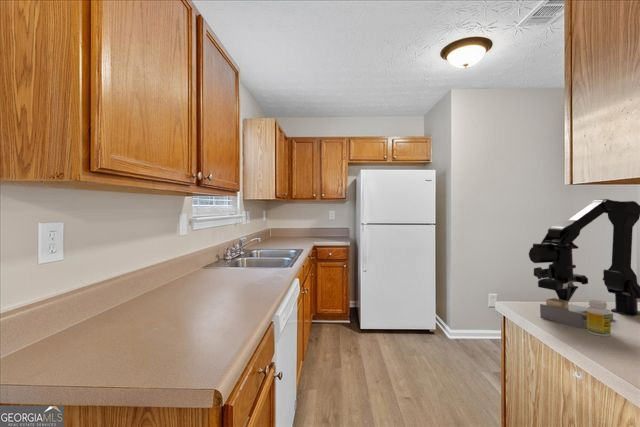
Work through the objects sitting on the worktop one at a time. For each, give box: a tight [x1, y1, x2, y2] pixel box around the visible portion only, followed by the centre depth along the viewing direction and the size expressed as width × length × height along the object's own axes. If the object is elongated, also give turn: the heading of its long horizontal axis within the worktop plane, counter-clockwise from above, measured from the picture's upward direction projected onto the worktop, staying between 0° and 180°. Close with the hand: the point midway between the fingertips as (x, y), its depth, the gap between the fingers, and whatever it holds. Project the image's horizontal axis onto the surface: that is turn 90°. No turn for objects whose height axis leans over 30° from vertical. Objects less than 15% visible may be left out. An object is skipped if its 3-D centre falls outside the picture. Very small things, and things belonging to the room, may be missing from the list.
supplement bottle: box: [586, 299, 612, 337], centre depth 95 cm, size 5×5×10 cm
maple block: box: [545, 297, 569, 310], centre depth 109 cm, size 4×4×4 cm
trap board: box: [539, 303, 614, 329], centre depth 108 cm, size 18×12×4 cm
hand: (564, 305), depth 111 cm, fingers closed
